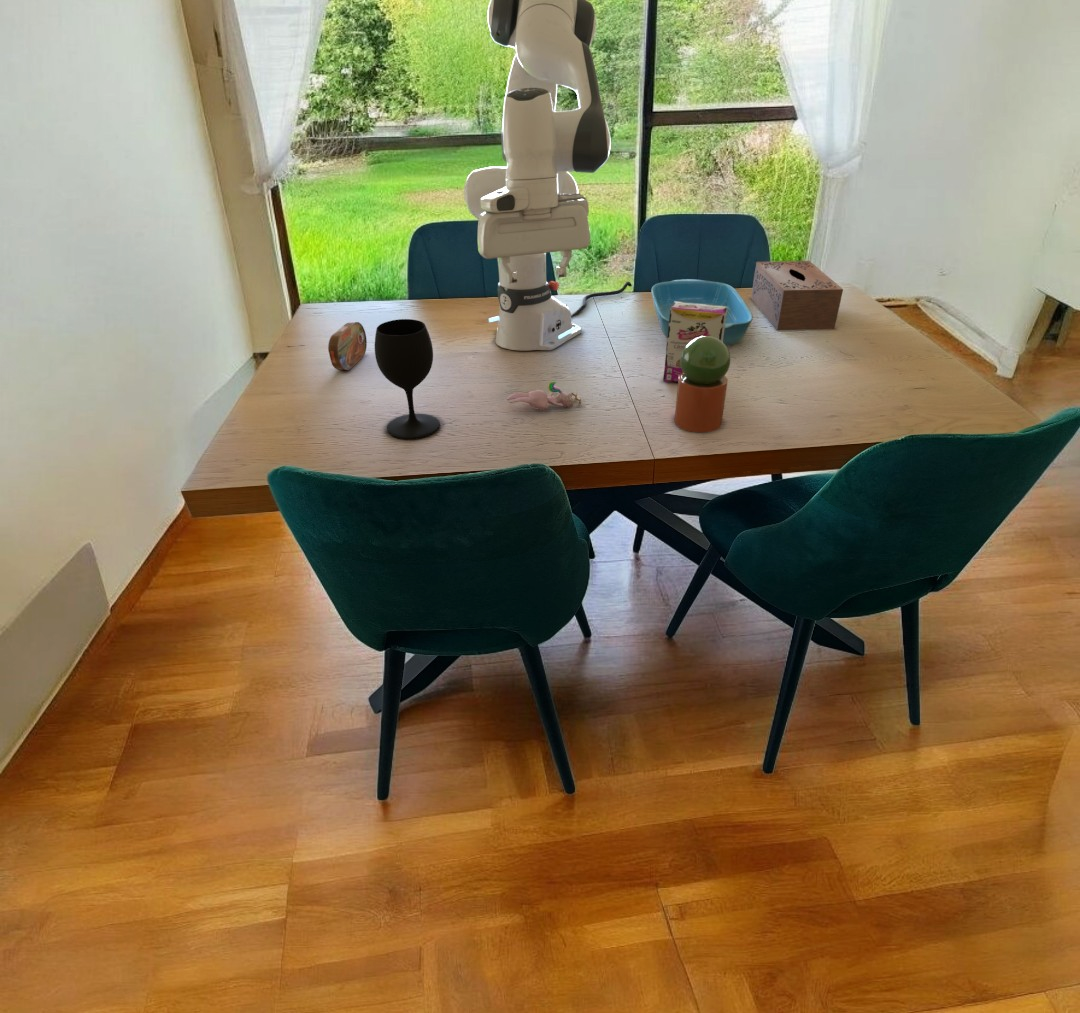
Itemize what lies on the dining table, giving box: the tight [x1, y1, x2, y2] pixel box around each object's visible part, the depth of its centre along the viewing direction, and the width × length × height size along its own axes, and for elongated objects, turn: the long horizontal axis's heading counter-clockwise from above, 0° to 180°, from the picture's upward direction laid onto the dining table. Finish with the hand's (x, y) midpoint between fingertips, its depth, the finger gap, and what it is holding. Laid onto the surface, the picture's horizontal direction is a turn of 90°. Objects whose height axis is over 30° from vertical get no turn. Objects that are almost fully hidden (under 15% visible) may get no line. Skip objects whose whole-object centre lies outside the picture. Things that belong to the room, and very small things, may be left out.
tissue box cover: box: [750, 260, 844, 331], centre depth 188 cm, size 26×14×10 cm, turn 0°
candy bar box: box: [663, 301, 727, 384], centre depth 151 cm, size 11×5×16 cm, turn 71°
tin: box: [327, 321, 368, 371], centre depth 165 cm, size 15×3×8 cm, turn 168°
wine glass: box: [374, 318, 441, 441], centre depth 134 cm, size 10×10×20 cm
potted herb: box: [674, 336, 731, 433], centre depth 135 cm, size 9×9×17 cm
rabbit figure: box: [506, 381, 582, 411], centre depth 144 cm, size 6×6×15 cm
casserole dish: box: [651, 278, 754, 347], centre depth 181 cm, size 37×22×7 cm, turn 179°
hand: (536, 279), depth 130 cm, fingers open, 8 cm apart
